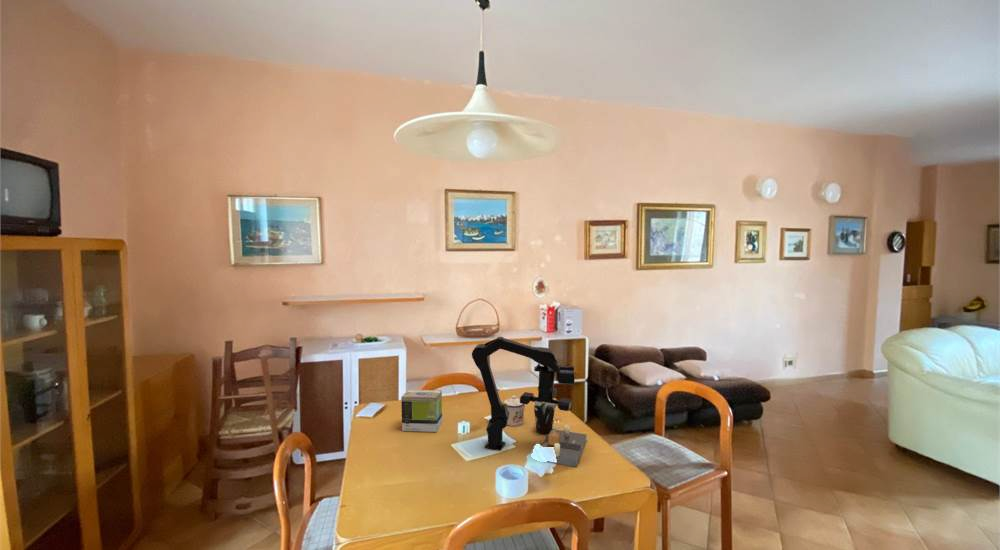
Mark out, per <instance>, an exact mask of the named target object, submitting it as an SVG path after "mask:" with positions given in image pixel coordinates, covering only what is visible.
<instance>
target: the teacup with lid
mask: <svg viewBox="0 0 1000 550" xmlns="http://www.w3.org/2000/svg"><path fill="white" fill-rule="evenodd" d="M502 403H503V405H504V404H507V409H508V411H509V412H510V413H509V418H508V422H507V425H506V426H511V427H519V426H521V425H523V424H524V419H525V418H524V413H525V409H526V406H525V405H526V404H521V403H520V398H519V397H517V396H516V395H511V397H509V398H507V399H505V400H504V401H503V402H502Z"/></svg>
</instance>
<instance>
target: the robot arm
mask: <svg viewBox="0 0 1000 550" xmlns="http://www.w3.org/2000/svg"><path fill="white" fill-rule="evenodd" d="M499 350H503V351H505V352H506V351H507V352H509V353H514V354H516V355H520V356H523V357H525V358H528V359H531V360H532V361H534V362H536V363H538V364H537V365H536V366H534V368H533V369H534V370H533V371H534V372H538V386H537V391H538V392H537V393H538V394H537V396H535V395H534V394H535V393H534V392H526V391H525V392H523V393H522V394H521V396H520V397H519V399H520V403H521V404H525V405H528V404H530V402H533V403H534V406H533V409H534V408H537V410H538V412H539V414H540V416H541V419H542V422H543V424H546V422H547V419H548V416H549V414H550V412H551V411H553V410H554V409H555V410H556V408H558V410H559V411H565V412H568V411H570V409H571V407H572V400H571V398H566V397H561V398H560V399H559V400H558V399H555V398H556V397H557V389H558V388H556V387H555V381H556V382H557V383H558V384H559V385H570V386H571V385H572V386H573V385H575V378H576V377H575V367H574V365H560V363H559V362H558V360H557V359H556V356H555V351H553V349H551V348H549V347H541V346H540V347H539V346H531V345H528V344H524V343H521V342H518V341H515V340H511V339H508V338H505V337H503V336H497V337H496V338H494V339H492V340H490V341H488V342H486V343H478V344H477V345H476V346H475V347H474V348H473V350H472V352H471V358H472V359H473V362H474V364H475V366H476V367H477V368H478V370H479V372H480V374H481V379H482V381H483V384H484V388H485V391H486V395H487V399H488V402H489V404H490V417H491V418H490V419H489V420H488V422H487V425H486V433H487V442H486V444H485V445H484V446H483V447H484V448H485V449H491V450H495V451H501V449H503V447H504V446H505V445H506V441H504V440H503V439H504V438H503V430H504V429H505V428H506V427H507V426H508V425H507V422H508V418H509V413H510V412H509V411H508V409H507V404H503V402H502V401H501V397H500V394H499V390H498V388H497V385H496V381H495V377H494V375H493V372H492V371H493V370H492V368H491V355H493V354H494V353H496V352H497V351H499ZM545 404H547V407H546V408H545Z"/></svg>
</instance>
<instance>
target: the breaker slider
mask: <svg viewBox="0 0 1000 550" xmlns="http://www.w3.org/2000/svg"><path fill="white" fill-rule="evenodd" d="M555 443H560V433H558V432H550V434H549V445H554V444H555Z"/></svg>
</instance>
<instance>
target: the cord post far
mask: <svg viewBox="0 0 1000 550" xmlns="http://www.w3.org/2000/svg"><path fill="white" fill-rule="evenodd" d="M563 428H564V429H563V431H564V436H565V437H569V432H570V425H569V424H564V427H563Z"/></svg>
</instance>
